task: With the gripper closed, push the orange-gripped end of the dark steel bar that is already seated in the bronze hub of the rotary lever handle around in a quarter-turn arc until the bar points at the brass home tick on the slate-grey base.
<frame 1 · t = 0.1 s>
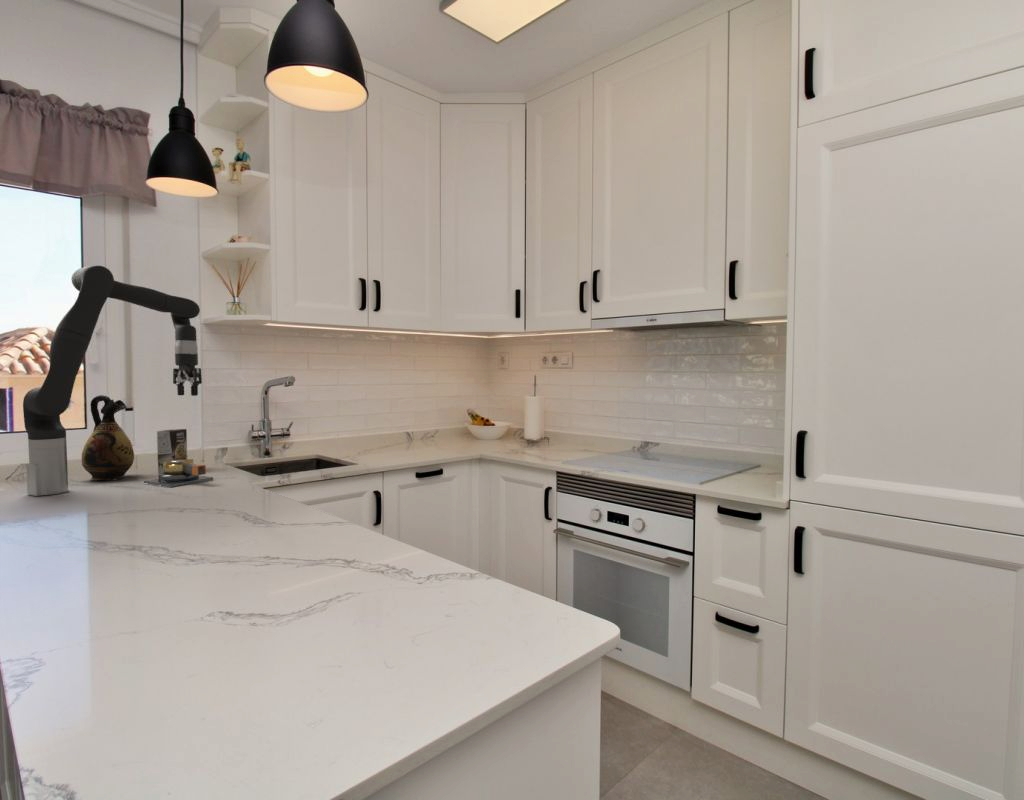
hand: (187, 395, 215), 29 cm above the countertop, tool pointing down, fingers open, 8 cm apart
housing: (179, 481, 194), on the countertop
ceramic jug: (107, 479, 202), on the countertop
coffee box: (173, 472, 216), on the countertop
rotary lever handle: (185, 467, 192), point 5 cm above the countertop, hinge at 0.0°
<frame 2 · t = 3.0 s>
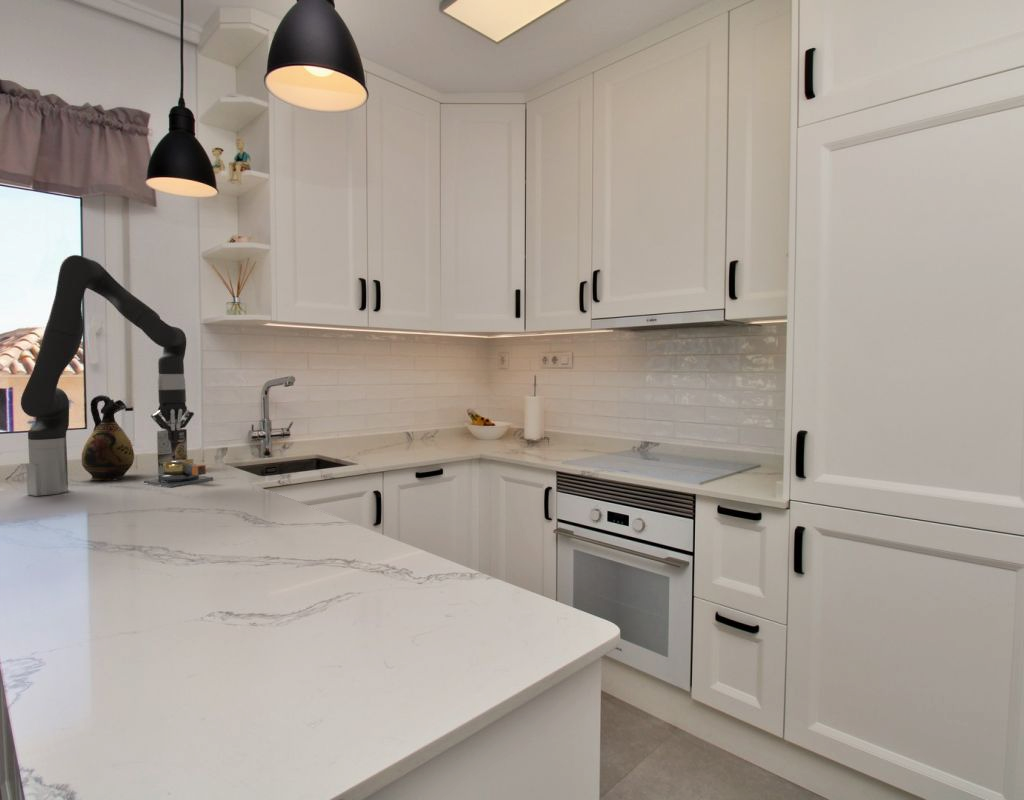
hand: (174, 441, 182), 15 cm above the countertop, tool pointing down, fingers closed
nothing on the countertop moved.
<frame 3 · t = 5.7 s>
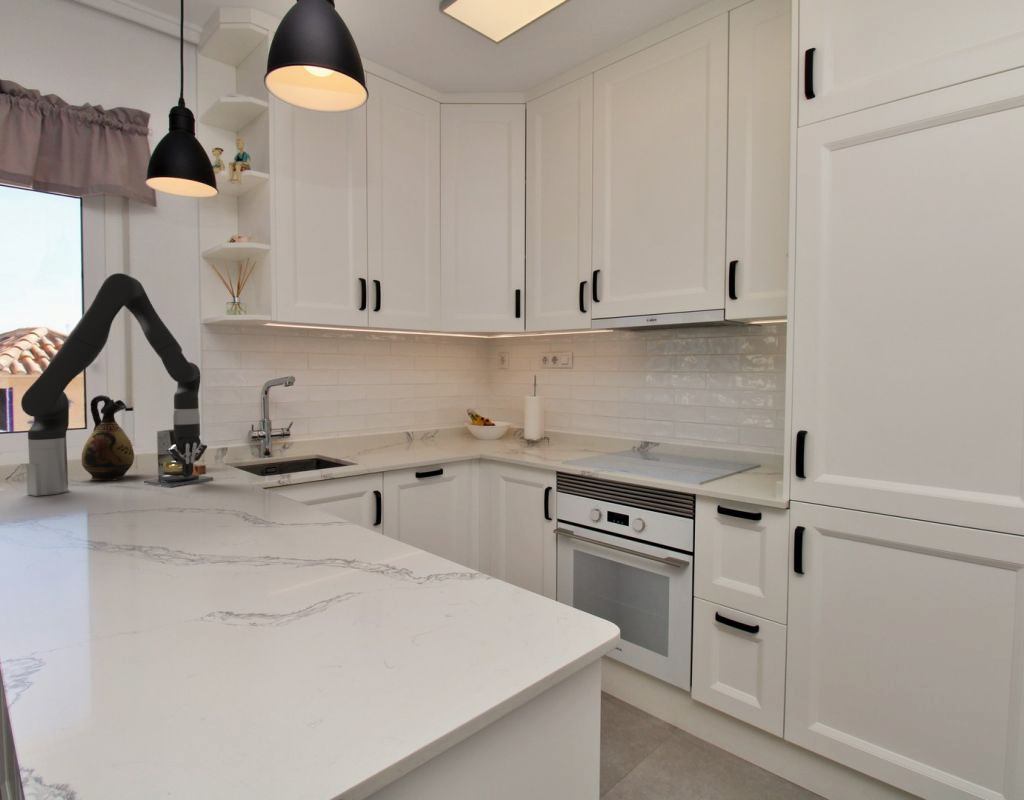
hand: (188, 474, 186), 4 cm above the countertop, tool pointing down, fingers closed
rotary lever handle: (185, 467, 192), point 5 cm above the countertop, hinge at 0.5°, touching gripper
everything else where it was.
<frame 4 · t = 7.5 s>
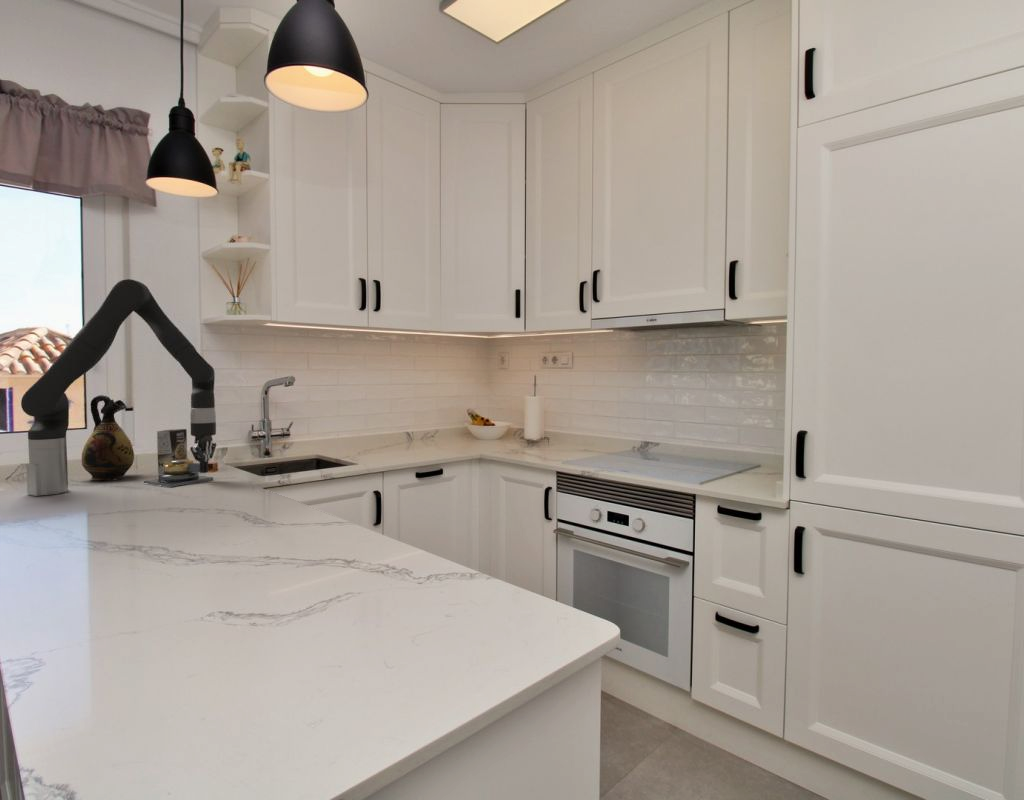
hand: (204, 472, 190), 4 cm above the countertop, tool pointing down, fingers closed
rotary lever handle: (190, 466, 194), point 5 cm above the countertop, hinge at 26.7°, touching gripper
everything else where it was.
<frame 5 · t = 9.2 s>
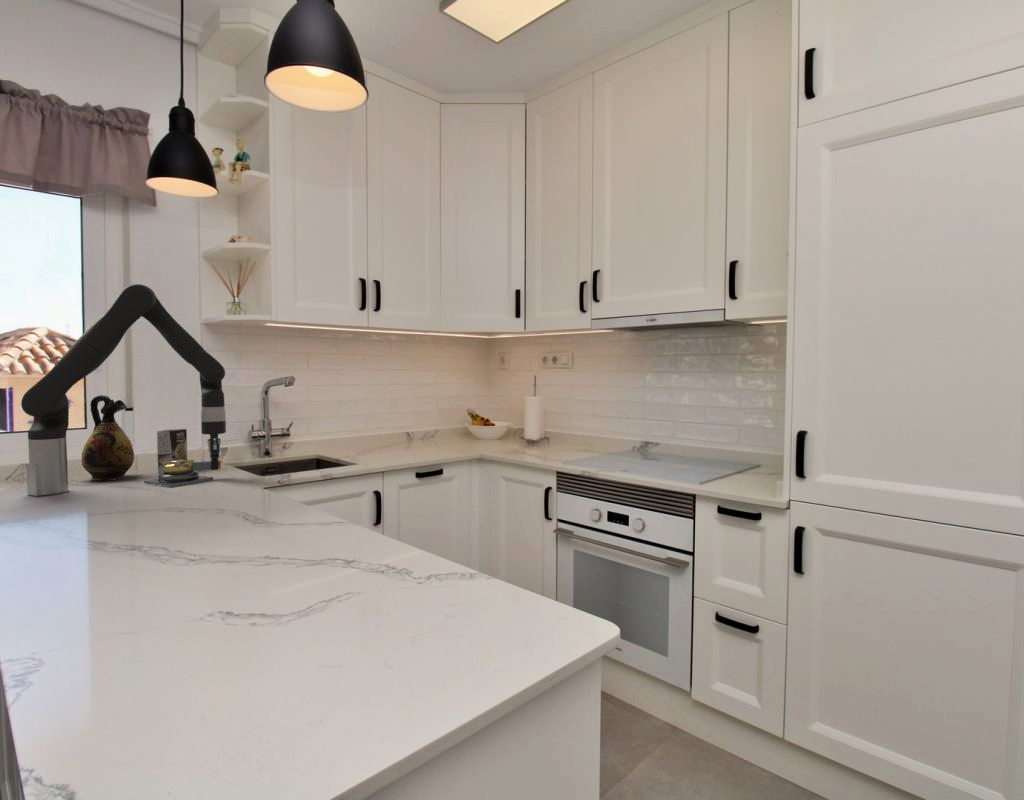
hand: (214, 469, 196), 4 cm above the countertop, tool pointing down, fingers closed
rotary lever handle: (192, 465, 196), point 5 cm above the countertop, hinge at 53.8°, touching gripper
everything else where it was.
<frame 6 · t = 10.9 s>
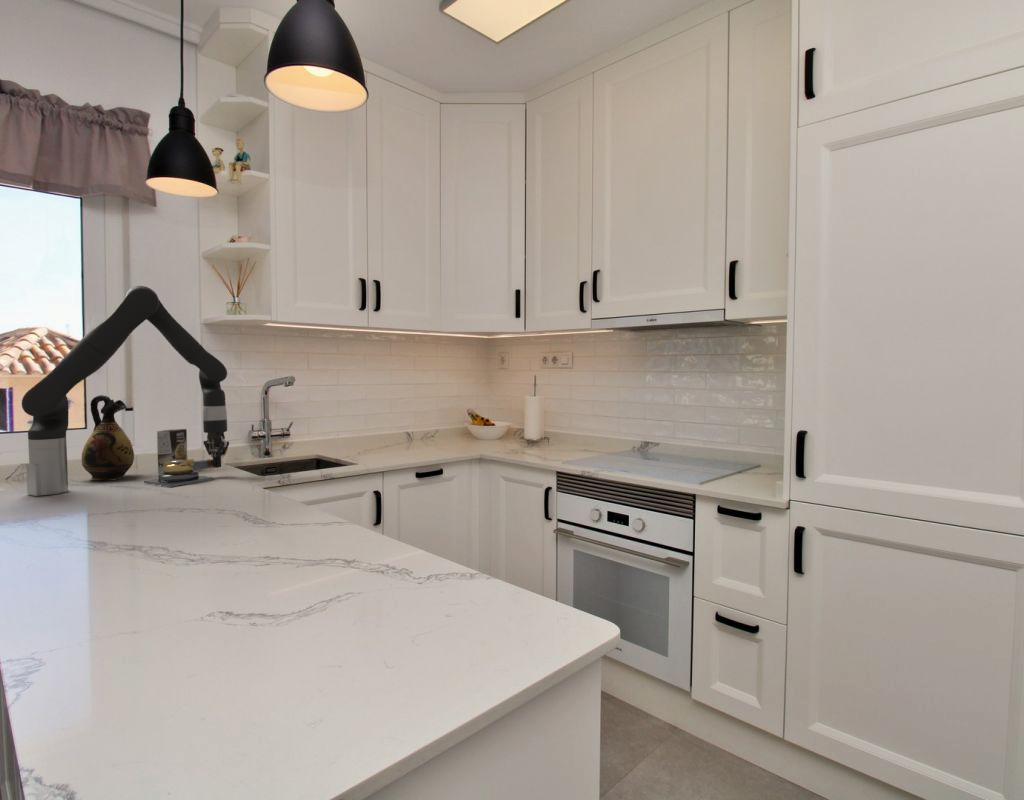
hand: (217, 467, 200), 4 cm above the countertop, tool pointing down, fingers closed
rotary lever handle: (191, 465, 197), point 5 cm above the countertop, hinge at 79.3°, touching gripper
everything else where it was.
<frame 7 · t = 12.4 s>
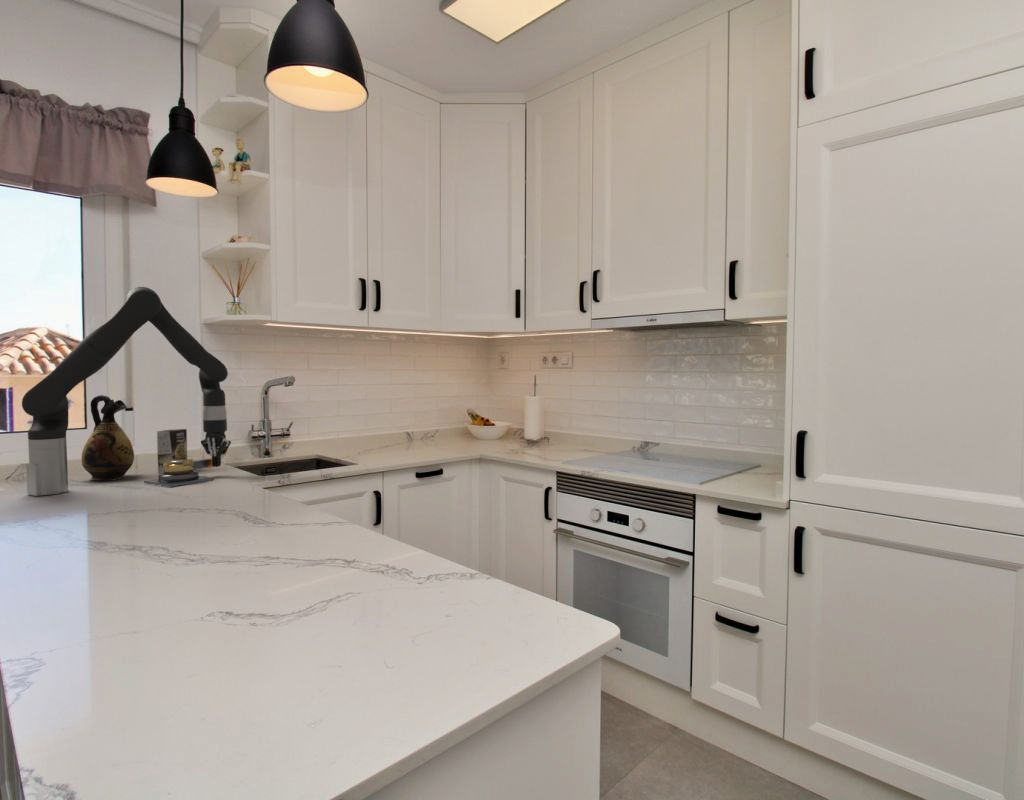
hand: (216, 466, 202), 4 cm above the countertop, tool pointing down, fingers closed
rotary lever handle: (190, 464, 198), point 5 cm above the countertop, hinge at 92.4°
everything else where it was.
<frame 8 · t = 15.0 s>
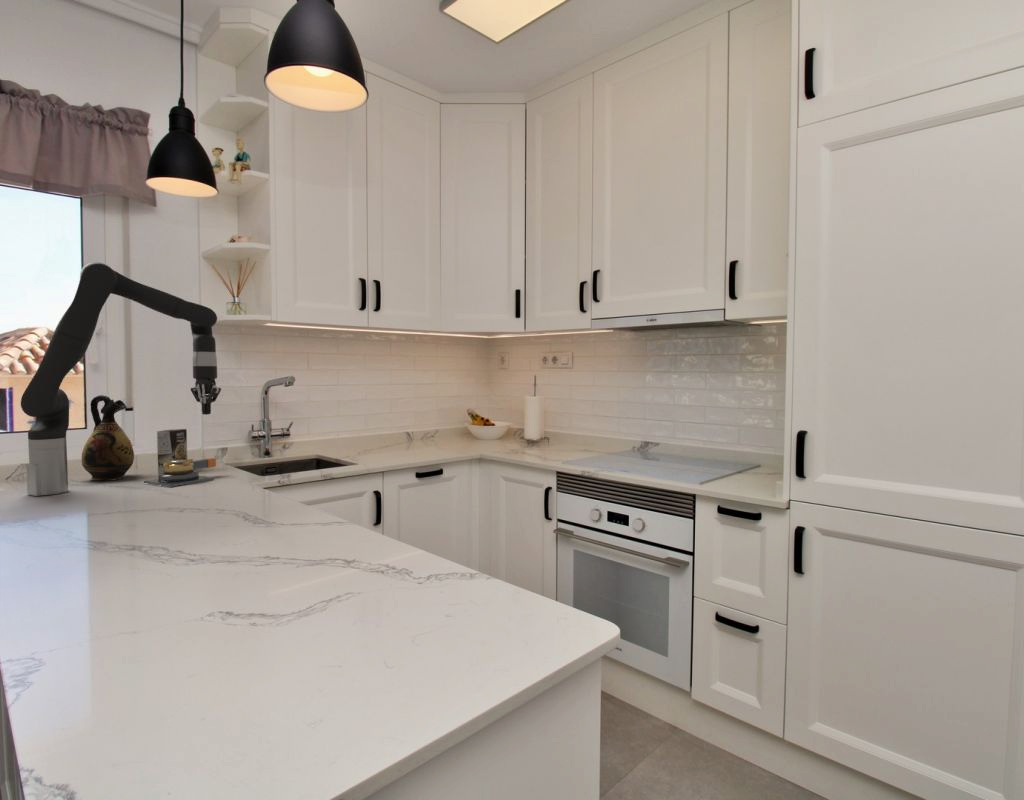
hand: (206, 414, 198), 23 cm above the countertop, tool pointing down, fingers closed
nothing on the countertop moved.
at the end: rotary lever handle at +92° (first picture: +0°) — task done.
